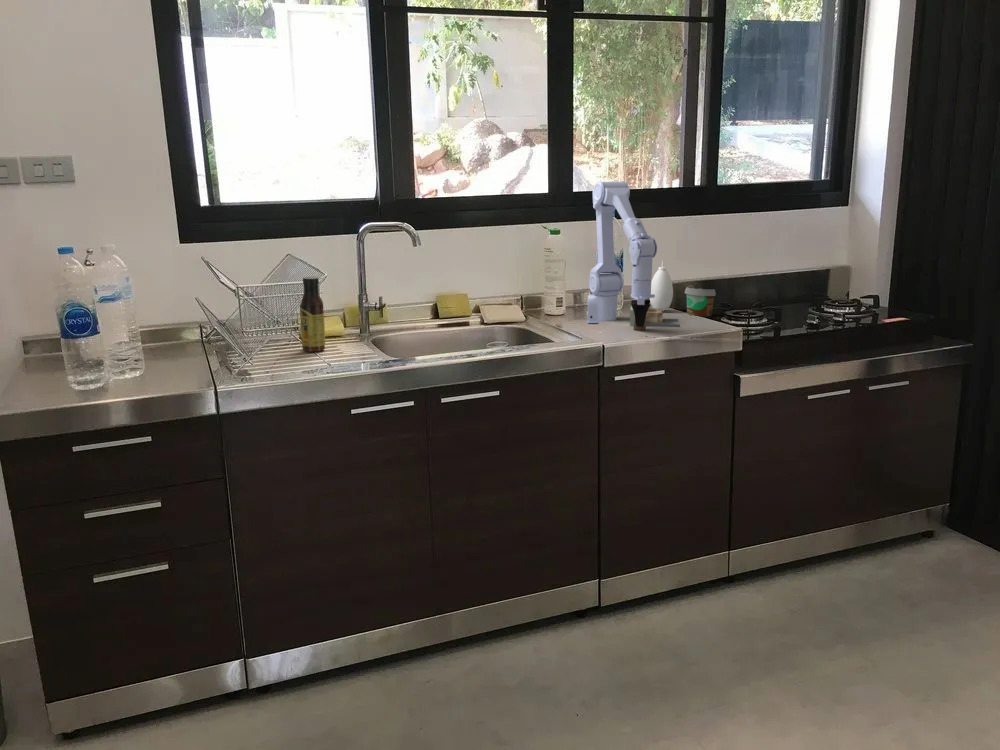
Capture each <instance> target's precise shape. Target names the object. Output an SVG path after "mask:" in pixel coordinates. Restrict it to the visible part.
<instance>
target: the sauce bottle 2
mask: <svg viewBox="0 0 1000 750" xmlns="http://www.w3.org/2000/svg"><path fill="white" fill-rule="evenodd" d="M673 287H674V286H673V282H672V278H671V276H670V274H669V272H668V271H667V267H665V266H664V259H662V261H661V266H659V267H658V268H657V271H655V273H654V275H653V277H652V280H651V294H654V295H655V297H654V298H649V299H648V300H650V303H649V304H650V306H651V308H654V309H662V310H664V309H666V310H667V309H669V308H670V307H671V304H672V302H673V297H674V288H673Z"/></svg>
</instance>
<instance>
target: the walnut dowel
mask: <svg viewBox="0 0 1000 750" xmlns="http://www.w3.org/2000/svg"><path fill="white" fill-rule="evenodd" d="M632 329H633V331H636V332H644V331H647V326H646V318H645V323H644V326H643V327H636V323H635V315H634V326H633V328H632Z"/></svg>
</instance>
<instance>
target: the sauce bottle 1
mask: <svg viewBox="0 0 1000 750" xmlns="http://www.w3.org/2000/svg"><path fill="white" fill-rule="evenodd" d="M319 280H320V279H319V277H317V276H304V277H302V283H303V284H302V285H303V295H302V299H301V303H300V304H299V305H300V306H299V315H300V332H301V333H300V334H301V335H300V336H301V346H302V350H303V351H304V352H306V353H315V352H323V351H325V349H326V348H325V347H326V333H325V332H326V330H325V327H326V326H325V325H326V324H325V312H324V302H323V300H322V297H320V295H319V283H320V282H319Z"/></svg>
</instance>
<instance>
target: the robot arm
mask: <svg viewBox="0 0 1000 750" xmlns="http://www.w3.org/2000/svg"><path fill="white" fill-rule="evenodd" d="M630 191H631V190H630V187H629V184H628V183H627V182H626V181H625V180H623V181H622V180H621V181H602V180H601V181H597V182H595V185H594V186H593V189H592V204H593V205H592V207H593V209H594V210H595V216H596V220H595V222H596V243H597V244H596V245H597V248H596V249H597V264H596V265H595V266H594V267H593V268H591V269H590V270H589V271H590V272H589V280H588V287H589V290H590V292H591V294H588V295H587V311H586V318H587V319H586V323H587V324H599V322H601V321H603V322H606V321H607V322H608V321H609V322H611V321H616V320H617V315H618V314H617V312H618V311H617V310H618V295H620V293H621V291H622V290H623V288H624V277H623V275H622V268H620V267H619V266H618V265H617V264H616V263H615V249H614V248H615V247H614V246H615V245H614V243H615V242H614V219H613V217H614V216H613V215H614V212H615V210H616V211H617V213H618V215H619V216H620V218H621V219H622V221H623V226H622V230H623V233H624V235H625V236H626V239H627V241H628V243H629V247H628V252H629V256H630V264H631V265H632V269H631V273H632V274H631V288H630V289H631V293H630V298H632V300H631V301H630V307H631V306H632V308H633V311H634V315H635V323H636V327H643V326H644V323H645V318H646V314H647V311H648V309H649V308H650V306H651V303H650V299H649V298H654V297H655V295H654V294H651V282H652V279H653V277H652V275H653V259H654V258H655V257H656V255H657V253H658V244H657V242H656V239H655V238H654V237H651V236H650V235H648V233H647V231H646V229H645V227H644V225H643V222H642V220H641V219H640V218H638V217H636V216H635V213H634V210H633V208H632V205H631V202H630V199H629V198H630V196H631V195H630V194H631V192H630Z"/></svg>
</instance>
